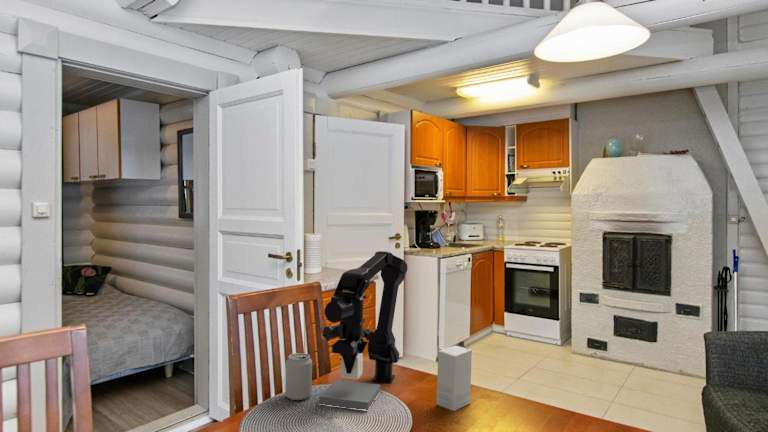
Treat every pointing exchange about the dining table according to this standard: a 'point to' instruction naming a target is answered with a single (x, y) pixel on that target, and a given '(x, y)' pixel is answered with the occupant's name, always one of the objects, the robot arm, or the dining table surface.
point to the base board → (350, 394)
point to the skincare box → (454, 377)
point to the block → (356, 370)
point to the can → (298, 376)
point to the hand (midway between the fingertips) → (351, 370)
